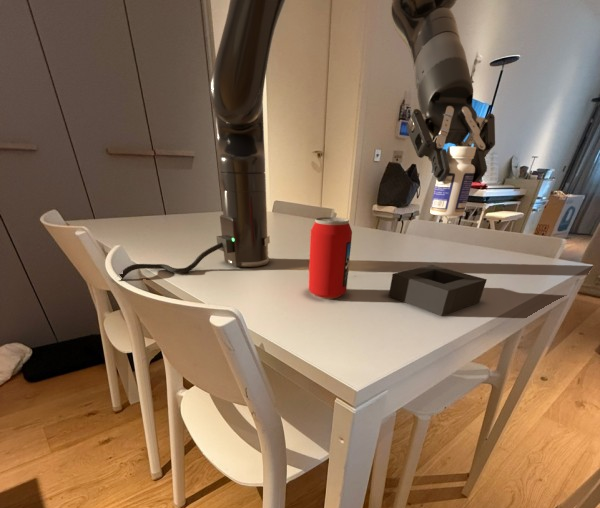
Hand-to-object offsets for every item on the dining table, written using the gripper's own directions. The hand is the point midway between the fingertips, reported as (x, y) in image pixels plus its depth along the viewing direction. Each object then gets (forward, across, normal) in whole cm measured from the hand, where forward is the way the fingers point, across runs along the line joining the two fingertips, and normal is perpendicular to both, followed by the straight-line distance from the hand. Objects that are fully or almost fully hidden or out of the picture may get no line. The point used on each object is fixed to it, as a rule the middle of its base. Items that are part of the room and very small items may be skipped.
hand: (461, 177), depth 50 cm
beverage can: (+11, -19, +15) cm, 26 cm away
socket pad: (+14, -1, +11) cm, 18 cm away
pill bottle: (+3, 0, +5) cm, 6 cm away
